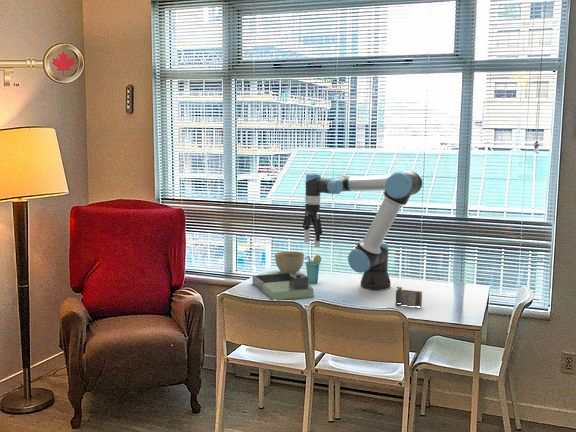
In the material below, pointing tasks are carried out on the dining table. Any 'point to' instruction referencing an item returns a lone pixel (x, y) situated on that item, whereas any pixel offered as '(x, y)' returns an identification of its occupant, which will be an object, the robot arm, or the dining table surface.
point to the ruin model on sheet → (408, 297)
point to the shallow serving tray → (284, 285)
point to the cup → (313, 269)
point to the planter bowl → (289, 261)
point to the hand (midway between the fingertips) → (311, 244)
